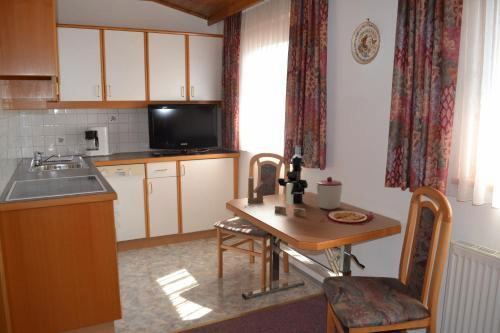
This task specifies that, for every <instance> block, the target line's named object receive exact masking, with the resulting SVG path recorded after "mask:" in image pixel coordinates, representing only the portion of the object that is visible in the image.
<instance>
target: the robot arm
mask: <svg viewBox="0 0 500 333" xmlns="http://www.w3.org/2000/svg"><path fill="white" fill-rule="evenodd" d="M291 152H292V158H291V159H290V164H291V166H292V168H291V169H292V170H291V171H287V172H286V178H287V179H286V178H285V177H278V179H277V183H278V185H279V186H281V187H285V188H286V184H287V183H293V189H292V192H291V195H292V194H293V204H304V202H303V195H305V191H306V189H308V185H309V184H308V182H307V180H306V179H301V176H302V171H303V168H302V166H303V165H304V164H305V160H304V155H305V147H303V146H302V145H294V146H293V147H292V151H291Z"/></svg>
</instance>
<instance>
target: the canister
mask: <svg viewBox="0 0 500 333" xmlns="http://www.w3.org/2000/svg"><path fill="white" fill-rule="evenodd" d="M315 185H316V194H317V195H316V196H317V203H318V206H319V208H321V209H324V210H335V209H338V208H339V207H340V205H341V198H342V196H341V195H342V192H343V186H344V183H343V182H341V181H339V180H335V179H333V178H332V176H327V178H326V179H322V180H318V181H317V182H315Z"/></svg>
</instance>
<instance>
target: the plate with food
mask: <svg viewBox="0 0 500 333" xmlns="http://www.w3.org/2000/svg"><path fill="white" fill-rule="evenodd" d="M372 213H373V212H372V211H370V212H369V213H368V214H367V213H363V212H359V211H354V210H335V211H334V210H333V209H330V211H329V212H328V213H327V214H326V215H325V218H326V219H327V222H329V223H334V224H338V225H346V224H347V225H348V224H349V225H356V226H360V225H361V226H365V223H369V222H371V220H372V219H373V216H374V214H372ZM325 218H323V219H320V220H321V222H324V223H326V220H325Z"/></svg>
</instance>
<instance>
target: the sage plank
mask: <svg viewBox="0 0 500 333" xmlns="http://www.w3.org/2000/svg"><path fill="white" fill-rule="evenodd" d="M292 189H293V183H287V184H286V187H285V200H286V201H285V205H289V206H291V205H293V204H294V203H293V194H292V195H291V192H292Z"/></svg>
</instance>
